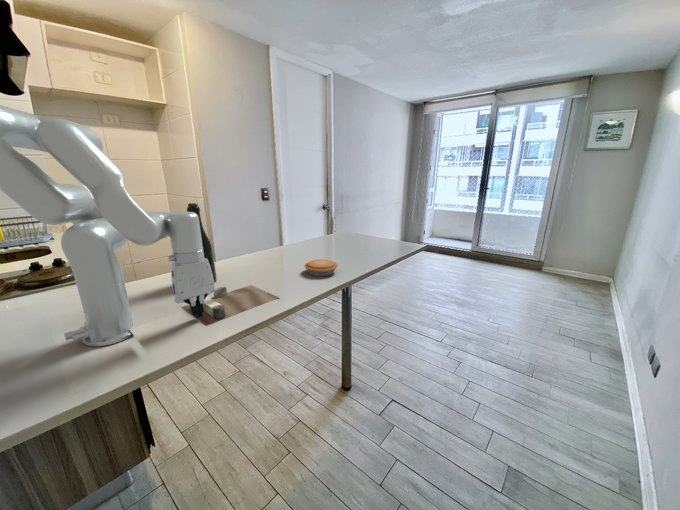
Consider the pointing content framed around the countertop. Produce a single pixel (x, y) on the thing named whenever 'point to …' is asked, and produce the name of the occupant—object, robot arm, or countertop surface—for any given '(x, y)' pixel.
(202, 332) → the countertop surface
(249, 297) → the brown wooden flat board
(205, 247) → the green wine bottle
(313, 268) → the pie
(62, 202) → the robot arm
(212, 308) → the folding leg
